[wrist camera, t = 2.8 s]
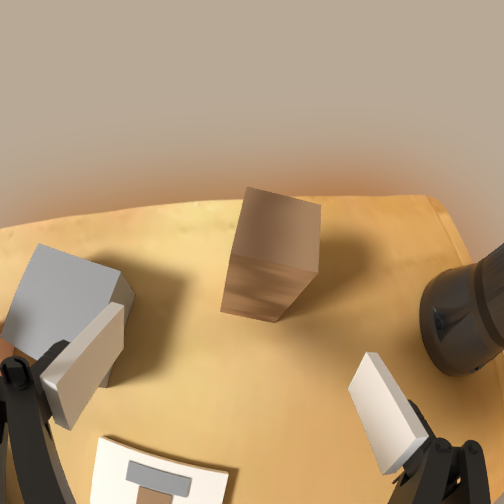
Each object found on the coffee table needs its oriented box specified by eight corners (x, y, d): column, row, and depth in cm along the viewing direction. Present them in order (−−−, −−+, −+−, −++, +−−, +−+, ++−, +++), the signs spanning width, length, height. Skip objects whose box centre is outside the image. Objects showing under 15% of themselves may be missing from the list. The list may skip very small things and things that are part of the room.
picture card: (227, 471, 20) (228, 474, 19) (211, 540, 15) (212, 545, 14) (103, 435, 19) (98, 437, 18) (92, 505, 15) (88, 509, 13)
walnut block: (281, 274, 30) (320, 205, 20) (274, 322, 28) (318, 272, 17) (231, 263, 30) (246, 186, 20) (220, 311, 27) (230, 253, 17)
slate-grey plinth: (136, 296, 27) (121, 271, 22) (107, 388, 22) (82, 384, 17) (61, 270, 26) (38, 243, 21) (31, 350, 21) (0, 336, 16)
